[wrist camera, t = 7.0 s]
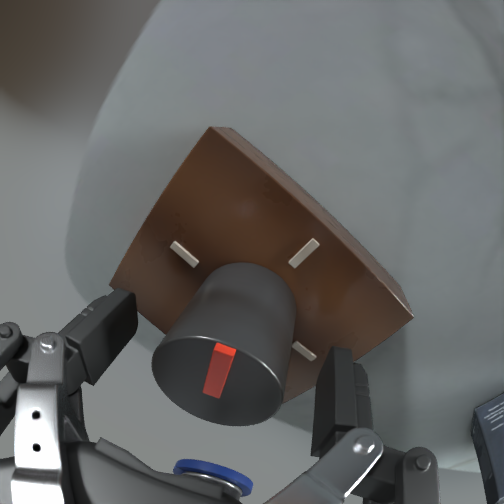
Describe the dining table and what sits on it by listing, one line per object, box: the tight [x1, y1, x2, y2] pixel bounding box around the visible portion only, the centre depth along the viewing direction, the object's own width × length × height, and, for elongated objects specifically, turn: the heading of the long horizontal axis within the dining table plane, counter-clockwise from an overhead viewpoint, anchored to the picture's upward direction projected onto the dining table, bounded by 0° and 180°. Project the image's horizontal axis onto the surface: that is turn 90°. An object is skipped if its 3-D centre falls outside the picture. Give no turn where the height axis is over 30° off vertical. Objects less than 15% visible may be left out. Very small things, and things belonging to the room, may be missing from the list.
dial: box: [152, 262, 296, 426], centre depth 10 cm, size 4×4×5 cm
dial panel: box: [109, 126, 414, 404], centre depth 14 cm, size 10×12×3 cm
